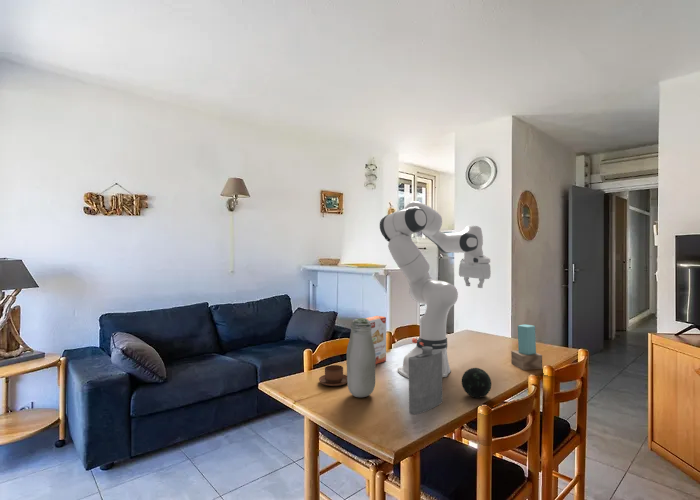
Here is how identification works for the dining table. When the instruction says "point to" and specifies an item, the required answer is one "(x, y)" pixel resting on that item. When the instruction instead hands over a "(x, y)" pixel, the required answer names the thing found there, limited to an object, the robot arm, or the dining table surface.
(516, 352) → the walnut base
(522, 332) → the teal block
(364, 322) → the glass bottle
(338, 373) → the cup and saucer
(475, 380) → the decorative stone
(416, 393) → the hip flask
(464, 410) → the dining table surface
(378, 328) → the cracker box
